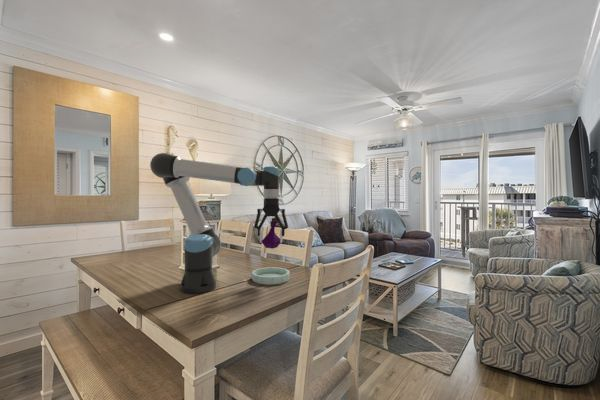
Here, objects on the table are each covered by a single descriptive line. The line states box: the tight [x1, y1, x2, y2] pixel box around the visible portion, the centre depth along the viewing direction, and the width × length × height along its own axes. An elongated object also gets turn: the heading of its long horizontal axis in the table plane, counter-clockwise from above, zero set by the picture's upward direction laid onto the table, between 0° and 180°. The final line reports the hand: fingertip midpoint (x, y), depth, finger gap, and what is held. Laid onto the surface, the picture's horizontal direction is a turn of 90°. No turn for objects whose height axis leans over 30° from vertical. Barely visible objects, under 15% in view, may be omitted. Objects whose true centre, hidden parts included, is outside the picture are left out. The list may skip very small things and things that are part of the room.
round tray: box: [251, 266, 291, 286], centre depth 145 cm, size 18×18×4 cm
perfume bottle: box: [261, 216, 281, 249], centre depth 145 cm, size 8×8×18 cm
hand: (271, 242), depth 145 cm, fingers closed on perfume bottle, 9 cm apart
